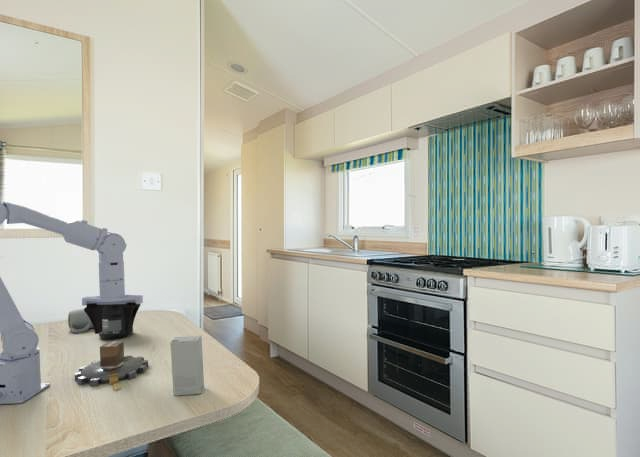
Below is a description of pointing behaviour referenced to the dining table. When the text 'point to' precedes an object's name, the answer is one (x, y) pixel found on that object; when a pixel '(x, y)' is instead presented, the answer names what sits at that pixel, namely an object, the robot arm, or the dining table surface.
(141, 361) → the sprocket
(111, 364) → the walnut block
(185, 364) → the skincare box
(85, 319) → the ceramic mug
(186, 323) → the dining table surface
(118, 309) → the supplement container
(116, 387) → the pointer
